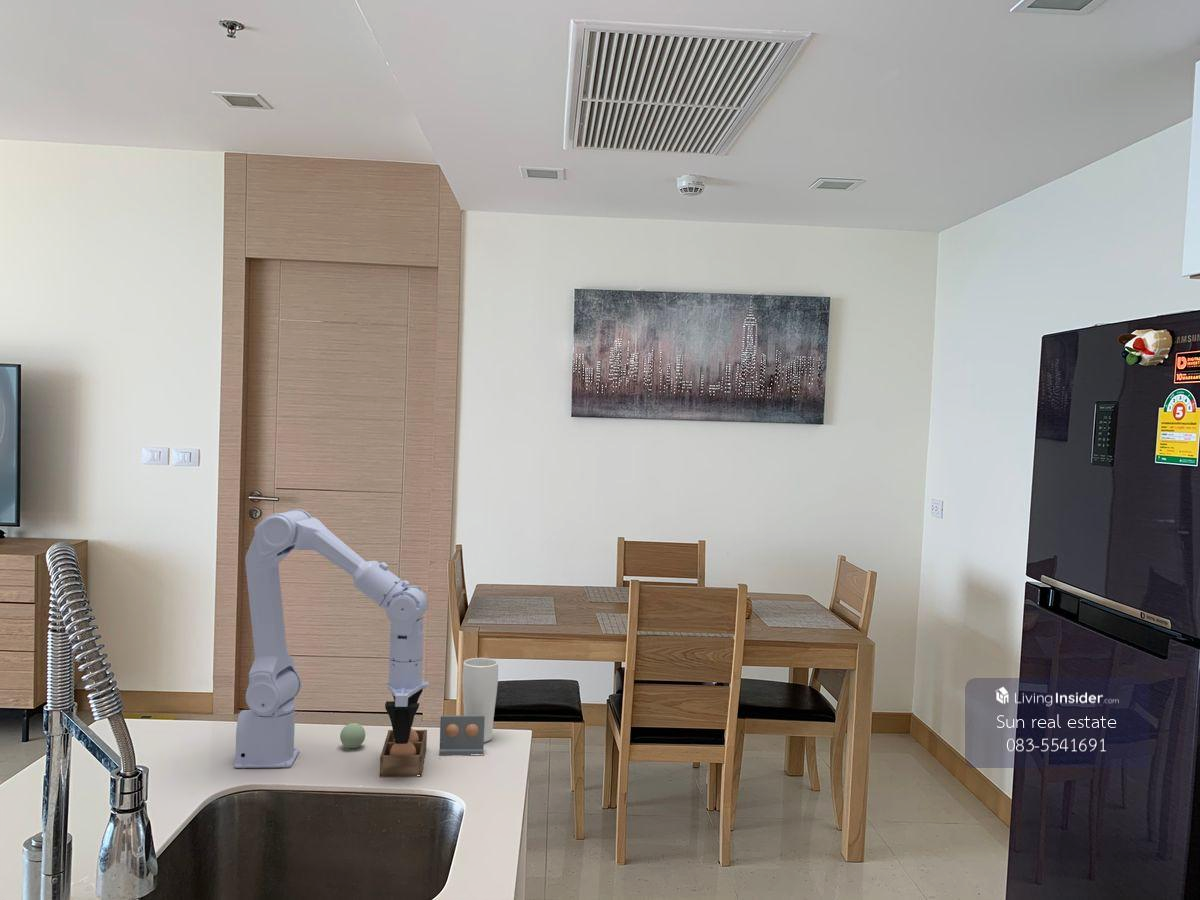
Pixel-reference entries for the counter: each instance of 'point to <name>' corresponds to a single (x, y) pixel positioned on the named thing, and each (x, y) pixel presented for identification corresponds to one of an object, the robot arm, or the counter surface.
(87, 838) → the counter surface
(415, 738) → the terracotta ball
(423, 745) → the pair tray
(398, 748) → the terracotta ball
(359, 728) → the sage ball
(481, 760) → the counter surface
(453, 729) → the card
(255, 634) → the robot arm
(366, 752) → the counter surface
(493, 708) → the white tall tapered cylinder
